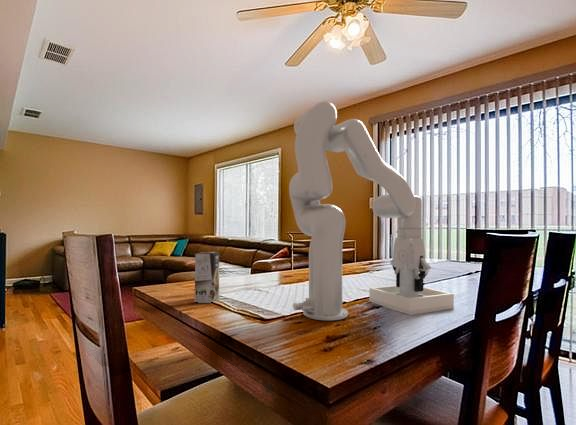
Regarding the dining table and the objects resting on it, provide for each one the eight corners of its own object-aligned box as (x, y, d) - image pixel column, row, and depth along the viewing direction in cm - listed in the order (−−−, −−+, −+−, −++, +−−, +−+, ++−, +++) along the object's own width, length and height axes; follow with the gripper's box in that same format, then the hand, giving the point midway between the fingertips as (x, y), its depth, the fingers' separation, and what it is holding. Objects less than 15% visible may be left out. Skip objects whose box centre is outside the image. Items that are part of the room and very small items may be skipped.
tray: (409, 315, 96) (409, 299, 96) (369, 301, 113) (369, 287, 113) (453, 308, 104) (453, 293, 104) (410, 296, 120) (409, 283, 120)
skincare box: (418, 301, 105) (419, 263, 106) (405, 301, 105) (405, 263, 106) (411, 297, 111) (412, 261, 112) (398, 297, 111) (399, 260, 112)
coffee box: (213, 303, 109) (214, 253, 110) (193, 303, 109) (194, 253, 110) (219, 297, 118) (220, 251, 119) (201, 297, 118) (202, 250, 119)
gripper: (382, 233, 115) (382, 285, 115) (421, 235, 99) (421, 295, 99) (398, 233, 118) (398, 283, 118) (439, 234, 103) (440, 293, 102)
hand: (409, 288), depth 108 cm, fingers open, 7 cm apart
